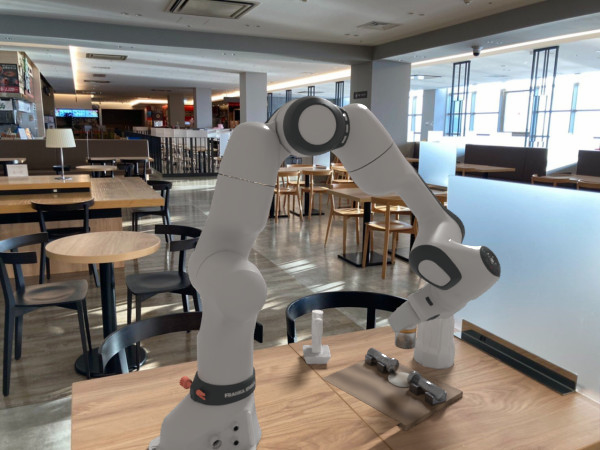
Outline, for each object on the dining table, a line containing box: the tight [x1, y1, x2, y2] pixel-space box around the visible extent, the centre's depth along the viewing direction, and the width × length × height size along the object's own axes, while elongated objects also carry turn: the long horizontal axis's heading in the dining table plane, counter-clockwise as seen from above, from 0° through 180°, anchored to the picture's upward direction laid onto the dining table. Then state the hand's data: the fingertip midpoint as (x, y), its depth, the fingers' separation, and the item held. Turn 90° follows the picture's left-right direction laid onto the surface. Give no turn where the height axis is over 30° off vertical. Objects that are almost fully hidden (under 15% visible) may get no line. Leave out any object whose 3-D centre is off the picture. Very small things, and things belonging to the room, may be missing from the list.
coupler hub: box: [394, 306, 418, 350], centre depth 118 cm, size 5×5×9 cm
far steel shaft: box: [364, 347, 400, 374], centre depth 127 cm, size 9×4×4 cm, turn 31°
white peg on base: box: [302, 309, 332, 365], centre depth 130 cm, size 7×9×15 cm
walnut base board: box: [321, 359, 464, 431], centre depth 118 cm, size 22×26×2 cm
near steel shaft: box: [407, 370, 447, 406], centre depth 113 cm, size 9×4×4 cm, turn 31°
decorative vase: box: [413, 281, 456, 370], centre depth 132 cm, size 11×11×25 cm
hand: (403, 325), depth 118 cm, fingers closed on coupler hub, 5 cm apart
